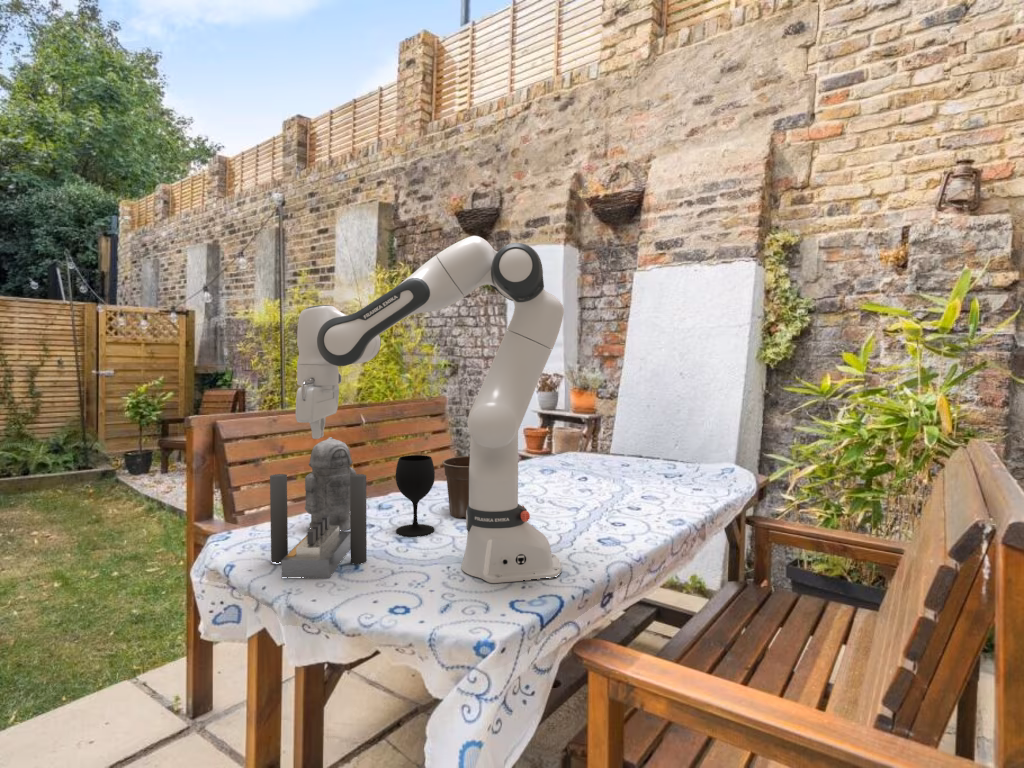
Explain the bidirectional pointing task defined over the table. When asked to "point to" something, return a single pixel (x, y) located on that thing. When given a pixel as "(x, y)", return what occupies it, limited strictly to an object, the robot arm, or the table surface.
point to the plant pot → (457, 484)
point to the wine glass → (415, 488)
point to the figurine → (329, 483)
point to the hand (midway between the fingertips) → (317, 438)
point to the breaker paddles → (318, 529)
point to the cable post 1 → (278, 517)
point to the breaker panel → (317, 562)
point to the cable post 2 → (358, 519)
